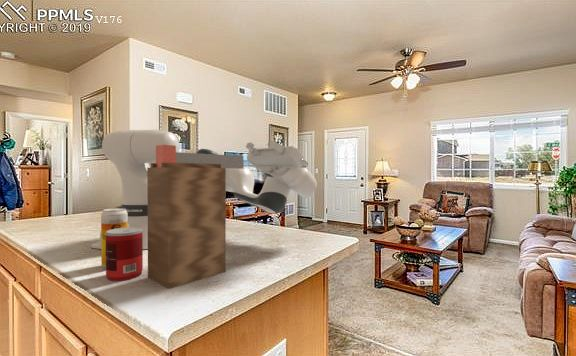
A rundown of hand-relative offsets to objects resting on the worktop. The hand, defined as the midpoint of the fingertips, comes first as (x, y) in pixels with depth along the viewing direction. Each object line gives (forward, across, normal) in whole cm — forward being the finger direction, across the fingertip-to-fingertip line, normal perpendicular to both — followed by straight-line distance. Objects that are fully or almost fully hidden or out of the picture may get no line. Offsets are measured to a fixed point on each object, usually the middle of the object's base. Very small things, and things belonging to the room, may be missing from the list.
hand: (258, 143), depth 91 cm
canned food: (+12, +11, -46) cm, 49 cm away
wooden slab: (+3, +1, -41) cm, 41 cm away
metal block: (+12, 0, -16) cm, 20 cm away
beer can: (+11, +21, -45) cm, 51 cm away
